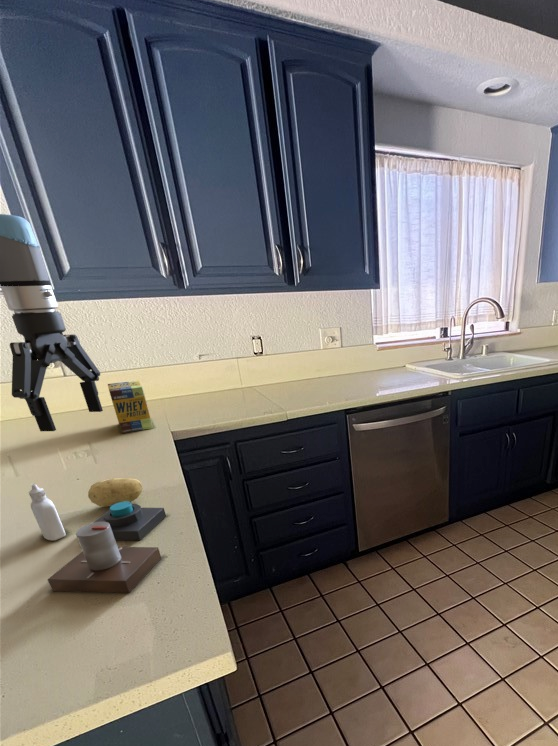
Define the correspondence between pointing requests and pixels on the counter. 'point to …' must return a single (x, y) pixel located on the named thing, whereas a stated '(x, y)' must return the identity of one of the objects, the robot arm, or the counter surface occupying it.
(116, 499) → the potato
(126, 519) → the push button box
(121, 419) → the protein box
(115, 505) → the teal round puck
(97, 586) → the dial panel
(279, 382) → the counter surface
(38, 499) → the eye dropper bottle
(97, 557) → the dial
